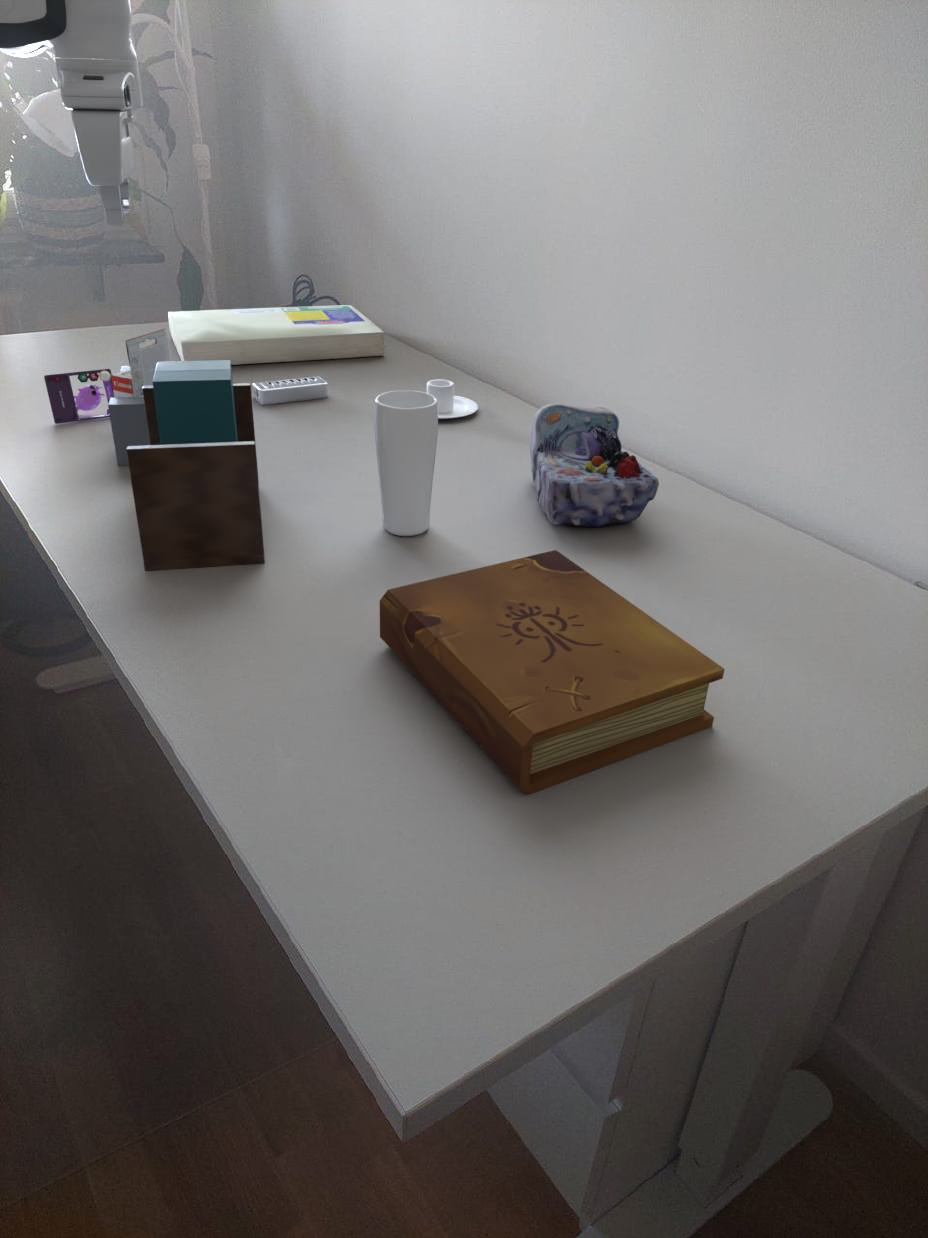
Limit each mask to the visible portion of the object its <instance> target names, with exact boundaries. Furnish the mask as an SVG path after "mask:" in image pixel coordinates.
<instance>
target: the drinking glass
mask: <svg viewBox="0 0 928 1238" xmlns="http://www.w3.org/2000/svg"><path fill="white" fill-rule="evenodd" d="M438 432H439V419H438V401H437V399H436V397H434V396H433V395H431V394H428V393H427V392H424V391H419V390H409V389H400V390H390V391H387V392H383V393H380V394H379V395H377V396H376V397H375V400H374V441H375V442H374V443H375V450H376V460H377V461H376V462H377V470H378V479H379V480H378V481H379V490H380V500H381V502H380V503H381V516H382V517H381V521H382V527H383V529H384V530H385V531H386V532H387V533H390V534H391V535H395V536H399V537H414V536H418V535H421V534H423V533H424V532H426V531H428V529H429V527H430V521H431V502H432V493H433V492H432V491H433V482H434V473H435V464H436V457H437V456H436V454H437V446H438V434H439V433H438Z"/></svg>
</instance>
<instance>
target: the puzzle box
mask: <svg viewBox="0 0 928 1238" xmlns="http://www.w3.org/2000/svg"><path fill="white" fill-rule="evenodd" d="M167 316H168V329H169V334H170V336H171V339H172V341H173V343H174V346H175V349H176V351H177V353H178V354H177V355H178V356H179V358H180V361H207V360H231V366H236V365H249V364H251V365H252V364H266V363H269V364H270V363H282V362H283V363H285V362H303V361H318V360H319V361H320V360H331V359H332V360H335V359H350V358H351V359H352V358H365V357H366V358H367V357H384V356H385V349H386V344H385V331H383V330H382V328H380V327H379V326H377V325H376V324H375V323H374V322H373V321H371V320H370V319H369V318H368V317H366V316H365V315H364V314H363V313H362V312H360V311H359V310H358V309H357V308H355V307H354V306H353V305H352V304H343V305H312V306H311V305H310V306H309V305H308V306H306V305H305V306H282V307H280V306H278V307H253V308H252V307H251V308H229V309H204V310H181V311H168V312H167Z"/></svg>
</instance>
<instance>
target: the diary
mask: <svg viewBox="0 0 928 1238" xmlns="http://www.w3.org/2000/svg"><path fill="white" fill-rule="evenodd" d="M379 638H380V639H381V641H383V642H384V643H385V644H386V646H388V648H390V650H391V651H392V652H393V653H394V654H395V655H396V656H397V657H398V658H399V660H401V661H402V663H403V664H404V665H405V666H406V667H407V668H408V669H409V670H410V672H412V674H413V675H414V676H415V677H416V678H417V679H418V680H419V681H420V682H421V684H423V686H424V687H425V688H426V689H427V691H429V692H430V693H431V694H432V695H433V696H434V697H435V699H436V700H437V701H438V702H439V703H440V704H441V705H442V706H443V707H444V708H445V709H446V711H447V712H448V713H449V714H450V715H451V716H452V718H453V719H455V720H456V721H457V723H458V724H459V725H460V726H461V727H462V728H463V729H464V730H465V731H466V732H467V733H468V734H469V735H470V737H471V738H472V739H473V740H474V741H475V743H477V744H478V745H479V746H480V748H482V750H483V751H484V752H485V753H486V754H487V755H488V756H489V757H490V759H492V761H493V762H494V763H495V764H496V765H497V766H498V767H499V768H500V769H501V770H502V771H503V773H505V775H506V776H507V777H508V778H509V779H510V780H511V781H512V782H513V783H514V785H515V786H516V787H517V788H518V789H519V790H521V791H522V792H524V793H525V794H526V795H528V796H529V795H532V794H534V793H537V792H539V791H542V790H545V789H548V788H551V787H553V786H555V785H558V784H561V783H564V782H567V781H569V780H572V779H575V778H577V777H580V776H582V775H586V774H588V773H590V772H593V771H597V770H599V769H601V768H604V767H607V766H610V765H612V764H614V763H618V762H620V761H624V760H626V759H628V758H630V757H633V756H636V755H639V754H642V753H644V752H647V751H650V750H652V749H655V748H657V747H660V746H662V745H665V744H668V743H671V742H673V741H676V740H679V739H681V738H682V739H683V738H684V737H687V736H689V735H693V734H695V733H699V732H700V731H703V730H706V729H708V728H711V727H713V725H714V719H715V716H714V715H712V714H711V713H709V711H707V710H705V705H706V701H707V696H708V691H709V687H710V684H711V683H714V682H717V681H720V680H723V679H724V674H725V670H726V669H725V668H724V667H722V666H721V664H718V663H717V662H715V660H713V659H712V658H710V657H709V656H707V655H705V654H704V653H703V652H701V651H700V650H699V649H697V648H696V647H694V646H693V645H691V643H689V642H687V641H686V640H684V638H682V637H680V636H679V635H677V634H676V633H674V632H673V631H672V630H670V629H669V628H668V627H666V626H665V625H663V624H662V623H661V622H659V621H657V620H656V619H655V618H653V617H652V616H651V615H649V614H647V613H646V612H645V611H644V610H642V609H640V608H639V607H638V606H636V605H635V604H633V603H632V602H631V601H629V600H628V599H626V598H625V597H623V596H622V595H621V594H619V593H618V592H616V591H615V590H613V589H612V588H610V587H609V586H608V585H606V584H605V583H604V582H602V581H601V580H599V579H597V578H596V577H595V575H594V576H593V574H590V573H589V572H588V571H587V570H585V568H582V567H581V566H579V565H578V564H577V563H576V562H573V561H572V560H571V559H570V558H568V557H567V556H565V555H564V554H563V553H561V552H560V551H558V550H556V549H554V550H549V551H545V552H541V553H537V554H533V555H529V556H524V557H520V558H516V559H515V558H514V559H512V560H507V561H503V562H499V563H493V564H490V565H485V566H482V567H478V568H474V569H473V568H472V569H469V570H465V571H460V572H456V573H452V574H447V575H443V576H439V577H435V578H431V579H427V580H422V581H419V582H414V583H409V584H406V585H402V586H397V587H392V588H389V589H387V590H386V591H385V593H384V594H383V595H382V596H381V598H380V599H379Z"/></svg>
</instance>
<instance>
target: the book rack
mask: <svg viewBox="0 0 928 1238" xmlns="http://www.w3.org/2000/svg"><path fill="white" fill-rule="evenodd" d="M142 390H143V397H144V404H145V411H146V418H147V425H148V432H149V439H150V445H144V446H127V449H126V451H127V458H128V464H129V465H128V469H129V476H130V481H131V490H132V495H133V502H134V503H133V504H134V509H135V515H136V521H137V529H138V534H139V542H140V547H141V554H142V560H143V566H144V571H145V572H150V571H166V570H179V569H194V568H195V569H196V568H210V567H226V566H227V567H228V566H242V565H243V566H244V565H256V564H258V565H259V564H265V549H264V535H263V521H262V509H261V507H262V506H261V495H260V483H259V482H260V480H259V467H258V457H257V456H258V455H257V446H256V445H257V444H256V433H255V421H254V420H255V419H254V409H253V396H252V384H251V382H250V383H249V382H244V383H238V382H237V383H233V392H234V403H235V414H236V424H237V435H238V442H220V443H195V444H170V445H161V442H160V434H159V427H158V419H157V412H156V404H155V397H154V390H153V386H143V389H142Z"/></svg>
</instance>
